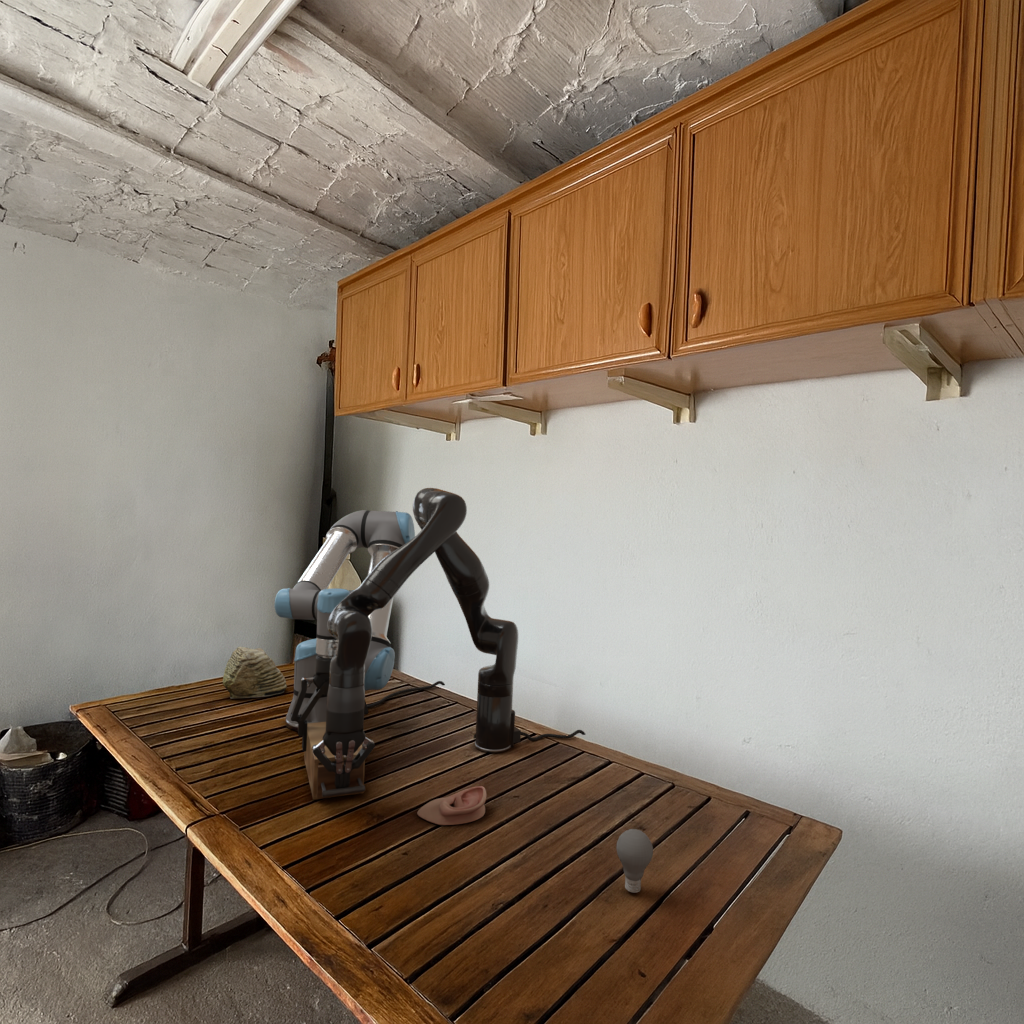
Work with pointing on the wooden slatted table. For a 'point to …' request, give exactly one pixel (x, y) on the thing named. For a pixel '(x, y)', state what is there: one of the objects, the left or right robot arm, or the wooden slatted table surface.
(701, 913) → the wooden slatted table surface
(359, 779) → the drawer
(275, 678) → the fossil
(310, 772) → the cabinet
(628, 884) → the light bulb
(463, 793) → the anatomical model
